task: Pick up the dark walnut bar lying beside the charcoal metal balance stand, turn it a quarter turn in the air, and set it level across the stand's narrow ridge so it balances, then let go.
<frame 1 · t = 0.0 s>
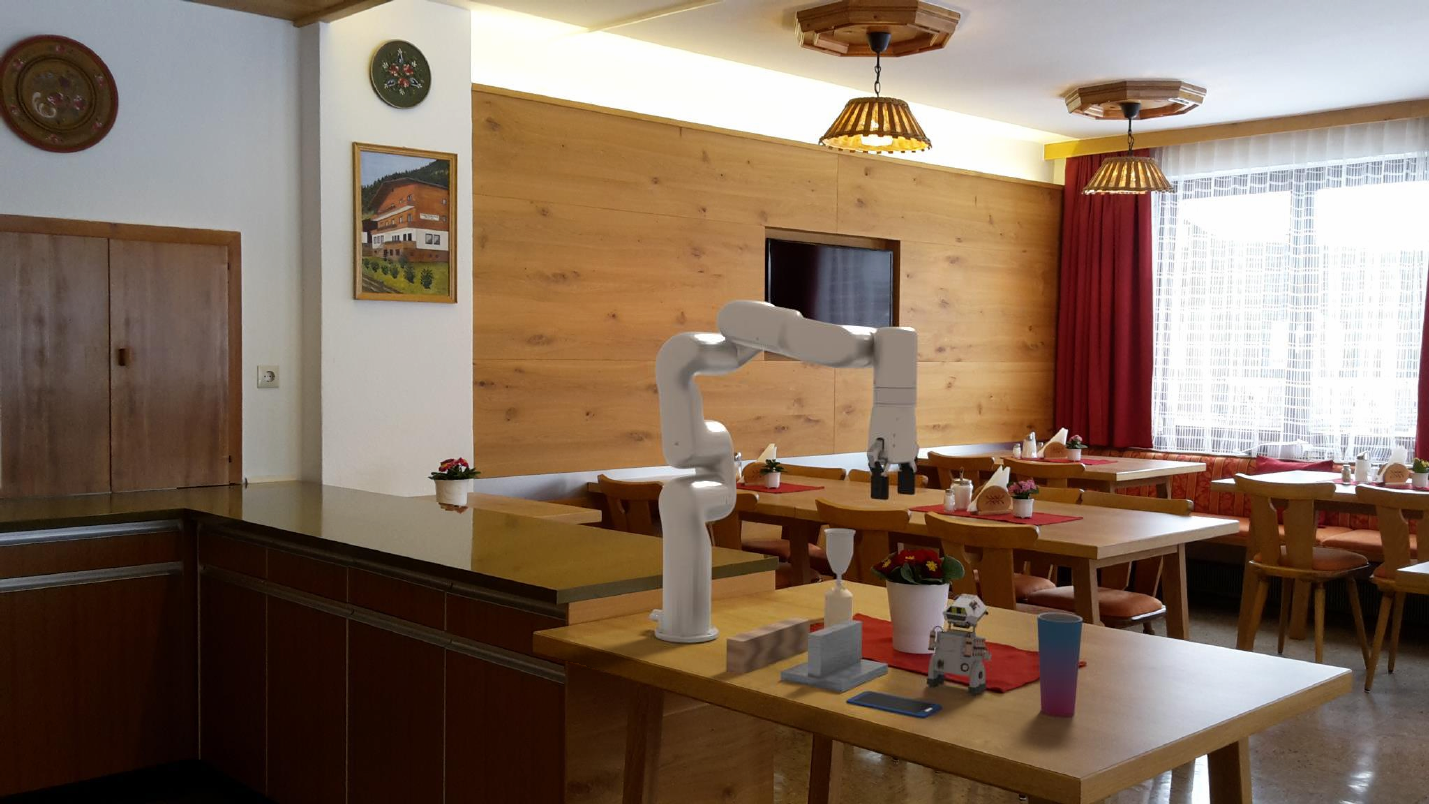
hand: (893, 496, 203), 31 cm above the table, tool pointing down, fingers open, 9 cm apart
chalice: (838, 614, 253), on the table
ridge stand: (835, 676, 203), on the table
cell phone: (893, 708, 186), on the table
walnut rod: (769, 661, 213), on the table
figurine: (961, 687, 197), on the table
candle: (838, 638, 231), on the table
cup: (1057, 713, 183), on the table
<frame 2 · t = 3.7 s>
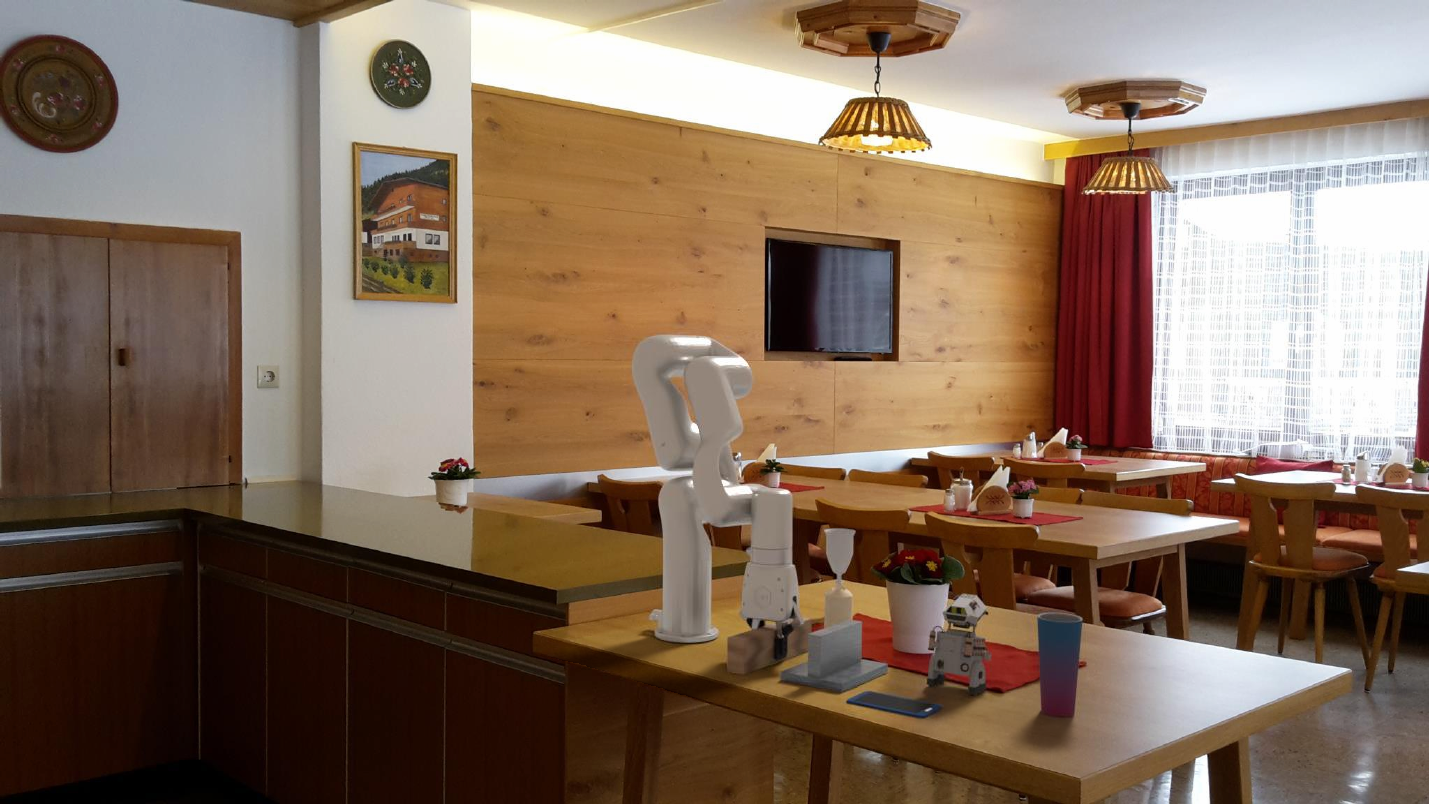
hand: (770, 655, 213), 1 cm above the table, tool pointing down, fingers closed on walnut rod, 3 cm apart
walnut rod: (770, 660, 213), on the table, touching gripper
everything else where it was.
when the fingers open (10 cm above the table, at t = 11.0 s): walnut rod stays where it is, resting on ridge stand.
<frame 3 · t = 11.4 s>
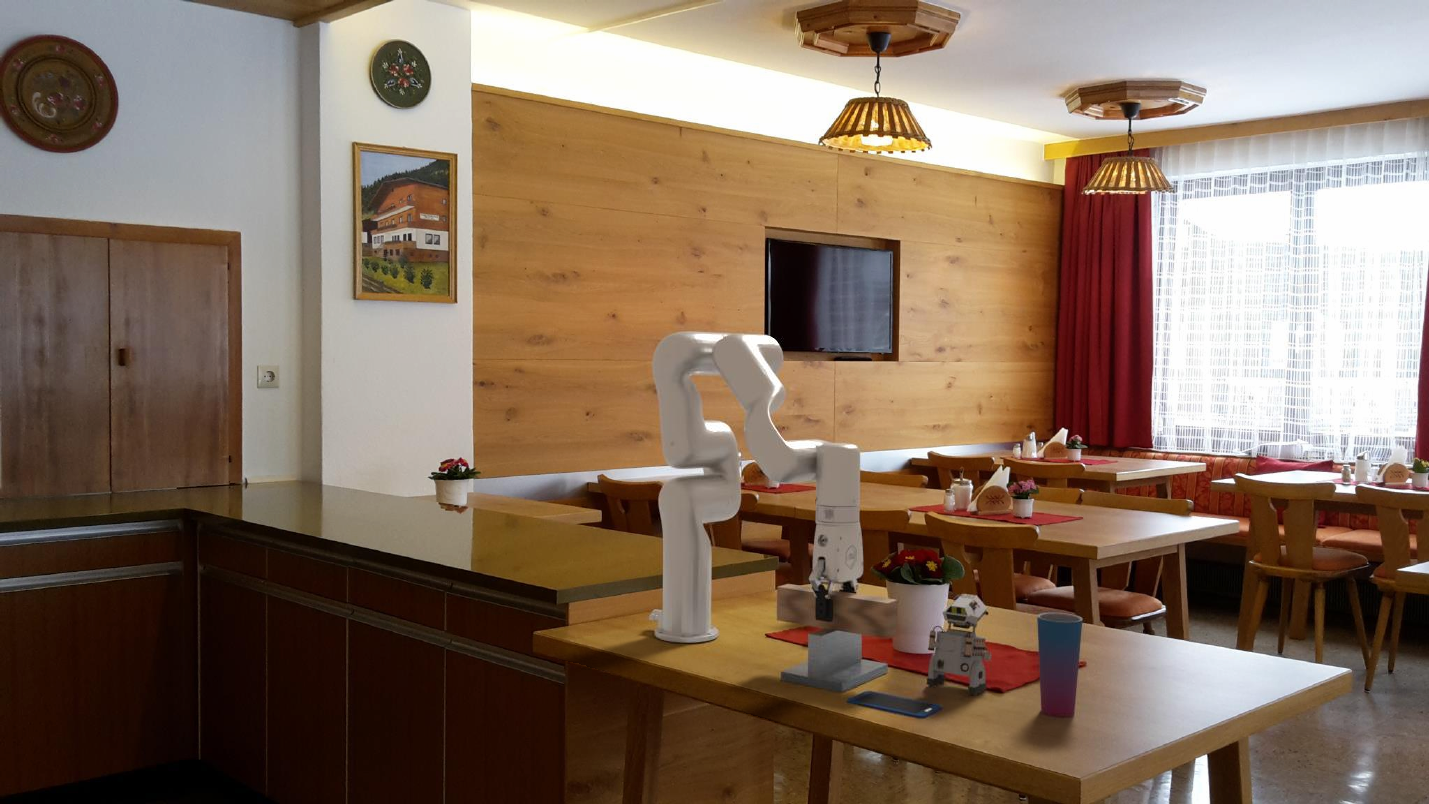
hand: (835, 616, 202), 11 cm above the table, tool pointing down, fingers open, 7 cm apart
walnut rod: (835, 627, 202), point 8 cm above the table, touching ridge stand
everything else where it was.
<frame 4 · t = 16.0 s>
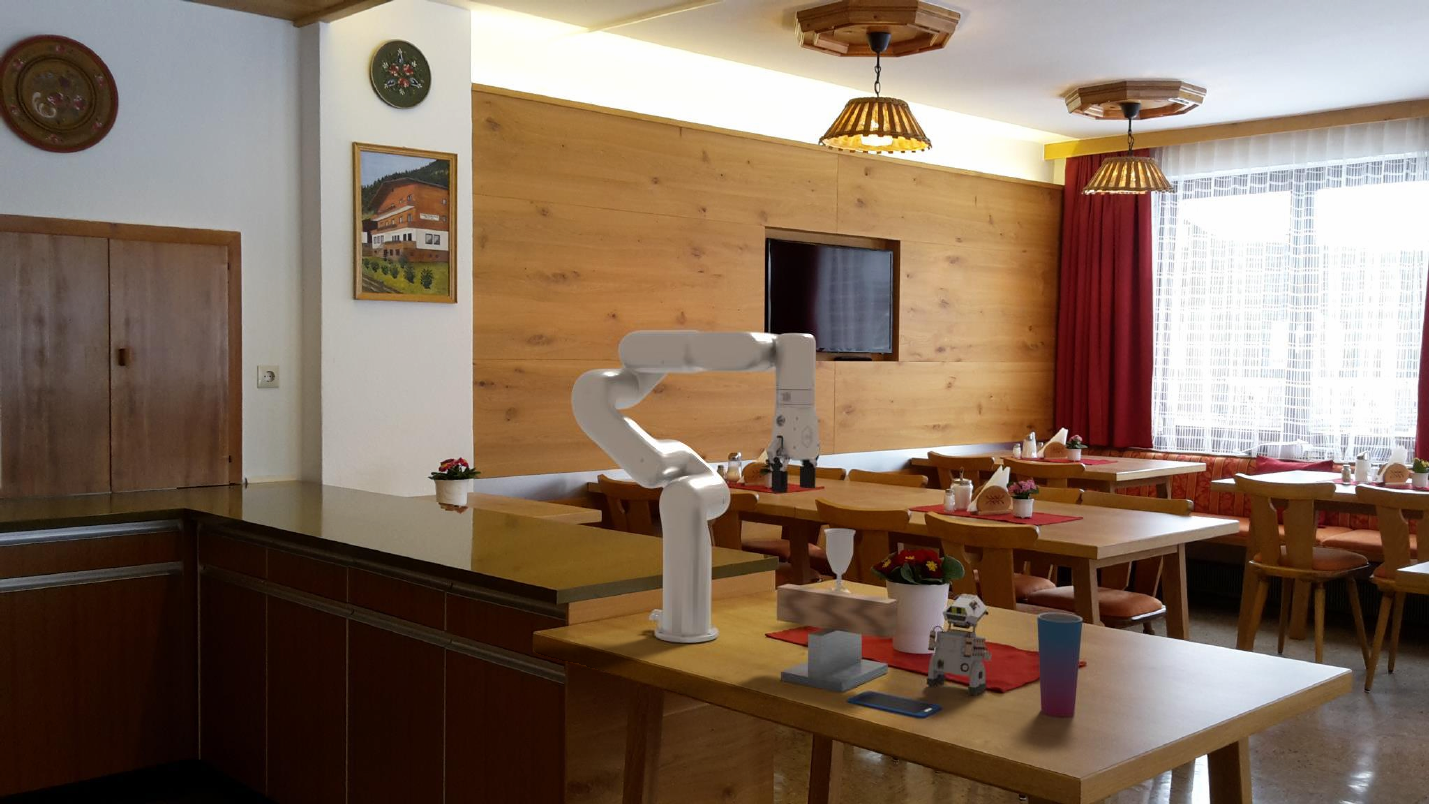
hand: (793, 490, 220), 30 cm above the table, tool pointing down, fingers open, 9 cm apart
nothing on the table moved.
at the end: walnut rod inside the target area on the ridge stand (0.1 cm from its centre), point 8.5 cm above the ridge stand's base; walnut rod tilted 0°; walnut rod touching ridge stand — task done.
